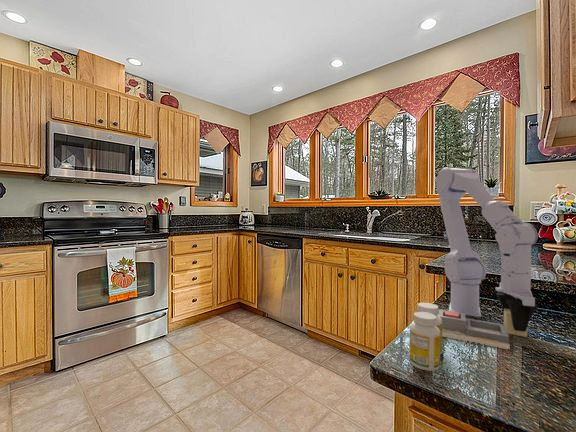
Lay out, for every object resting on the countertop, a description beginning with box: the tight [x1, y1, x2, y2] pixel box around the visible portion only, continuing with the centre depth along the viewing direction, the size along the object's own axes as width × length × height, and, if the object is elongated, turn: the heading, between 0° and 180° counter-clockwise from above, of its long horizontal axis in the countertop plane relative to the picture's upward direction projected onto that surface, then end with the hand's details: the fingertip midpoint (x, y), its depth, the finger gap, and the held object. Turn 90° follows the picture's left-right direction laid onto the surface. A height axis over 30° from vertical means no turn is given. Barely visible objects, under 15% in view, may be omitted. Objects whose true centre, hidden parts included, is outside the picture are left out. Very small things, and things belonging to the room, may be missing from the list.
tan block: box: [503, 308, 528, 338], centre depth 70 cm, size 4×4×5 cm
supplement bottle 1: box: [417, 302, 443, 356], centre depth 60 cm, size 5×5×10 cm
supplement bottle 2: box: [409, 311, 441, 372], centre depth 55 cm, size 5×5×10 cm
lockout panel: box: [437, 309, 511, 350], centre depth 68 cm, size 10×14×4 cm
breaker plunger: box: [445, 310, 459, 318], centre depth 70 cm, size 3×3×3 cm
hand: (515, 326), depth 70 cm, fingers closed on tan block, 5 cm apart
